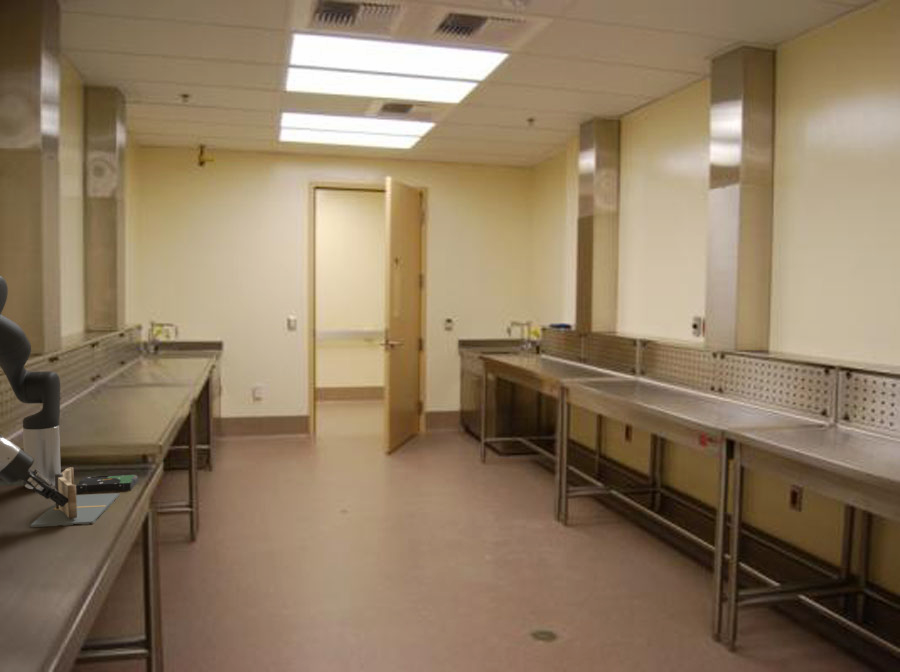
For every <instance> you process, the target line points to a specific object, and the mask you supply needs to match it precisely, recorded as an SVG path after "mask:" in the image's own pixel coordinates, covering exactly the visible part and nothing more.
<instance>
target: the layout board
mask: <svg viewBox="0 0 900 672" xmlns="http://www.w3.org/2000/svg"><path fill="white" fill-rule="evenodd" d="M119 497H120V493H119V492H118V493H115V492H114V493H96V494H95V493H93V494H76V500H77V518H74V519H69V517H68V516H67V515H65V514H64V513H63V512H62V511H61V510H60V509H56V503H54V505H52V506H50V508H49V509H48V510H46V511H45V512H44V513H42V514H41V515H40V516H39V517H38V518H36V519H35V520H34V521H33V522H32V523H30V525H29V526H30V528H40V527H41V528H42V527H43V528H44V527H57V526H58V525H63V526H74V525H73V524H82V525H90V524H89V523H93V524H94V523H96V521H97V520H98V519H99V518H100V517H101V516H102V515H103V514H104V513H105V512H106V511H107V510H108V509H109V507H110V506H111V505H112V504H113V503H114V502H115V501H116V500H117V499H118V498H119ZM115 499H116V500H115ZM114 500H115V501H114ZM104 511H105V512H104ZM103 512H104V513H103ZM102 513H103V514H102ZM101 514H102V515H101ZM100 515H101V516H100ZM99 516H100V517H99ZM98 517H99V518H98ZM97 518H98V519H97ZM96 519H97V520H96ZM58 527H59V526H58Z"/></svg>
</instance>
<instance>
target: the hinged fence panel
mask: <svg viewBox="0 0 900 672" xmlns="http://www.w3.org/2000/svg"><path fill="white" fill-rule="evenodd" d="M76 485H77V484H74V485H73V484H72V483H70V482H69V481H68V480H66V479H65V478H64V477H59V478H58V491H59V492H60V493H61V494H63V495H64V496H65V497H67V498H68V502H67V503H66V504H65V505H64V506H63V507H61V506H60V505H59V509H60V510H61V511H62V512H63V513H64V514H65V515H67V516H68V517H69V519H74V518H77V500H76V495H77V493H76Z"/></svg>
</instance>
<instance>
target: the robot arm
mask: <svg viewBox="0 0 900 672" xmlns="http://www.w3.org/2000/svg"><path fill="white" fill-rule="evenodd" d="M8 289H9V288H8V284H7V282H6V280H5V278H4V277H3V276H1V275H0V369H1V370H2V371H3V373H4V375H5V376H6V378H7V380H8V382H9V384H10V387H11V389H12V392H13V393H14V396H15V397H16V399H17V400H18V401H19V402H21V403H23V404H29V405H30V404H42V408H41V410H39V411H38V412H36V413H33V414H31V415H28V416H26V417H25V416H24V418H23V419H22V434H23V435H22V436H23V437H22V438H23V449H22V448H20V447H19V446H18V445H16V444H15V442H12V441H11V440H9V439H7V438H6V437H4V436H2V435H1V434H0V479H1V480H3V481H4V482H5V483H7V484H9V485H11V484H15V483H16V482H17V481H18V480H21V481H22V484H23V486H24V487H25V488H26V489H28V490H32V492H34V493H36V494H38V495H40V496H42V497H43V498H45V499H47V500H49V499H50V500H52V501H53V502H54V504H56V503H57V504H58V505H60V506H61V507H63V506H64V505H65V504H66V503H67V502H68V498H67V497H65V496H64V495H63V494H61V493H60V492H59V491H57V489H56V488H55V474H59V473H62V471H61V470H62V468H61V441H60V440H61V439H60V436H61V435H60V416H61V379H60V377H59V375H58V373H57V372H55V371H49V370H48V371H29V370H27V369H26V368H25V365H26V363H28V360H29V358H30V356H31V353H32V345H31V342H30V341H29V338H28V337H27V335H26V333H25V331H24V330H23V329H22V327H21V326H20V325H18V323H16V322H14V321H13V320H11V319H10V318H8V317H6V316H5V315H3V314H2V313H3V310H4V308H5V305H6V303H7V300H8V292H9V290H8Z"/></svg>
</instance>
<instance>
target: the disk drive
mask: <svg viewBox="0 0 900 672" xmlns="http://www.w3.org/2000/svg"><path fill="white" fill-rule="evenodd" d="M138 482H139V476H138V474H119V475H118V474H115V475H97V476H94V475H93V476H92V475H91V476H84V477H83V478H82V479H81V480H80V481H79V482H78V483H77V484H75V485H76V494H84V493H83V492H88V493H103V492H105V493H106V492H121V491H122V492H124V491H132V490H133V489H134V487H135V486H136V485H137V484H138Z"/></svg>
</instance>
